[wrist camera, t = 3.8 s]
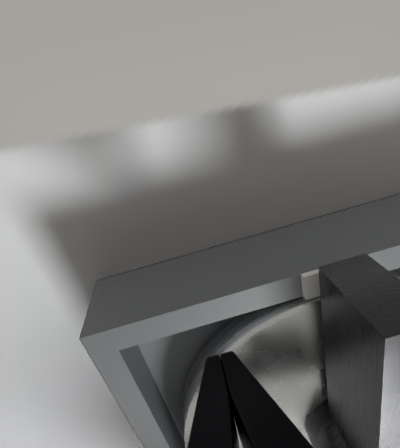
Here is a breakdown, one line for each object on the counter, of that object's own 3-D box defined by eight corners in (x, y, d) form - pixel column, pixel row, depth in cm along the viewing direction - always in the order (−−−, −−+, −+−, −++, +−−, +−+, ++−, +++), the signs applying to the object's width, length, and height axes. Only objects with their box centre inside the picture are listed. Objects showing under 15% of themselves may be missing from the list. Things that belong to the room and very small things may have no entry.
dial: (441, 427, 19) (531, 533, 14) (216, 496, 18) (237, 628, 14) (495, 180, 11) (719, 238, 7) (121, 287, 11) (99, 424, 6)
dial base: (196, 480, 21) (203, 551, 17) (96, 280, 13) (77, 343, 10) (435, 406, 21) (485, 462, 18) (482, 170, 13) (584, 195, 10)
